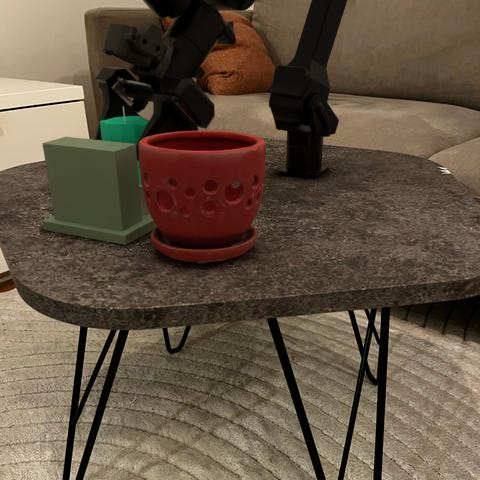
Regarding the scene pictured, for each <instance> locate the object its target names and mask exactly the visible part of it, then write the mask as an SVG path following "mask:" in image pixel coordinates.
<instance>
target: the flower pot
mask: <svg viewBox="0 0 480 480" xmlns="http://www.w3.org/2000/svg"><path fill="white" fill-rule="evenodd" d="M266 161H267V143H266V141H265V140H264V139H263V138H261V137H260V136H256V135H253V134H249V133H244V132H236V131H225V130H224V131H223V130H198V131H181V132H170V133H163V134H156V135H152V136H148V137H145V138H143V139H142V140H140V141H139V167H140V175H141V184H142V188H143V192H144V197H145V202H146V205H147V208H148V210H149V213H150V215H151V217H152V219H153V221H154V223H155V224H156V226H157V227H156V228H155V229H154V230H152V231H151V233H150V239H151V243H152V245H153V246H154V248H156V249H157V251H159V252H160V253H162V254H163V255H164V256H167V257H169V258H171V259H175V260H177V261H182V262H188V263H189V262H190V263H196V264H197V265H204V264H206V263H214V262H222V261H226V260H231V259H235V258H237V257H240V256H242V255H244V254H245V253H246V252H248V251H249V250H250V249H251V248H252V247H253V246H254V245H255V243H256V240H257V238H258V232H257V230H256V228H255V227H254V226H252V224H253V223H254V220H255V218H256V216H257V215H258V211H259V209H260V206H261V202H262V198H263V192H264V186H265V178H266V165H267V163H266ZM234 182H239V184H238V186H236V187H235V186H234V184H233V183H234Z"/></svg>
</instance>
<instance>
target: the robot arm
mask: <svg viewBox="0 0 480 480" xmlns="http://www.w3.org/2000/svg"><path fill="white" fill-rule="evenodd" d="M142 1H143V2H144V4H145V5H146V6H147V7H148V8H149V10H150V11H151V12H152V13H153V14H154V16H155V17H156V18H158V19H165V18H168V19H170V20H173V21H172V22H171V23H170V25H169V26H168V28H167V29H166V31H165V32H164V34H163V30H162V27H160V26H159V25H157V24H154V23H153V22H142V23H141V24H140V25H139V26H138V27H137V26H135V25H128V24H124V23H109V24H108V28H107V32H106V36H105V39H104V43H103V47H102V49H101V51H102V53H104V54H105V55H107V56H113V57H115V58H118V59H119V60H122V61H124V62H126V63H128V64H130V65H129V66H128V68H124V67H118V66H103V67H102V68H101V70H100V71H99V73H98V74H97V76H96V78H95V81H96V83H97V84H98V86H97V87H98V90H99V91H100V92H101V95H102V99H103V105H102V111H101V115H100V119H99V122H98V125H97V128H96V134H95V136H94V140H102V136H101V127H100V121H102V120H107V119H111V118H115V117H124V115H123V106H124V113H125V116H141V115H140V114H139V113H140V112H142V111H144V110H145V109H146V107H147V106H148V104H149V103H152V106H153V107H152V109H153V110H152V111H153V112H152V115H151V117H150V119H149V120H150V121H149V122H148V124H147V126H146V128H145V130H144V132H143V134H142V135H141V137H140V139H139V141H140V140H142V139H143V138H145V137H148V136H152V135H156V134H163V133H170V132H181V131H199V128H201V129H204V130H206V129H208V127H209V125H210V124H211V123H212V121H213V120H214V119H215V115H216V113H215V111H216V110H215V109H216V108H215V103H214V102H213V101H212V100H211V99H210V97H209V96H208V95H207V94H206V93H205V92H204V90H203V89H202V88H201V87H200V86H199V85H198V84H197V81H196V82H195V81H194V80H193V78H197V79H199V80H202V79H203V77H204V76H205V74H206V71H205V70H204V68H203V67H202V66H203V65H204V63H205V61H206V60H207V59H208V58H209V55H210V54H211V52H212V51H213V49H214V48H215V46H216V45H226V46H228V45H229V46H234V45H236V43H237V38H236V37H237V36H236V33H235V27H234V26H235V24H234V21H232V20H226V19H225V18H224V17H223V16H222V14H221V13H220V12H221V11H222V12H244V11H247V10H249V9H250V8H251V7H252V6H253V5H254V4H255V3H256V1H257V0H142ZM347 4H348V0H311V1H310V5H309V8H308V12H307V15H306V17H305V21H304V24H303V28H302V31H301V34H300V37H299V40H298V44H297V46H296V47H297V48H296V50H295V54H294V56H293V57H292V59H291V60H290V62H289V63H287V64H286V65H284V64H278V65H277V66H276V67H275V69H274V74H273V79H272V82H271V85H270V87H269V88H268V90H267V93H268V94H270V95H269V99H268V107H269V109H270V112H271V114H272V118H273V122H274V125H275V130H277V131H283V132H286V149H285V150H286V151H285V165H284V166H282V167H280V168H279V169H277V174H281V175H289V176H298V177H305V178H315V179H316V178H318V177H320V176H321V175H322V174H324V173H325V172H326V171H327V170H329V169H330V168H329V167H330V166H329V165H327V164H323V151H324V138H329V137H331V136H332V135H336V132H337V130H338V126H339V124H340V123H339V122H340V119H339V118H338V116H337V115H336V113H335V111H334V110H333V108H332V107H331V105H330V103H328V101H329V96H330V91H331V85H330V79H329V75H328V70H327V68H328V63H329V61H330V56H331V54H332V51H333V48H334V45H335V41H336V38H337V35H338V31H339V30H340V29H339V28H340V25H341V21H342V18H343V15H344V13H345V9H346V6H347ZM162 36H163V37H162ZM127 69H128V70H129V71H130V72H131V73H130V72H129V71H128V70H127ZM132 74H133V75H134V76H136V77H137V78H138V79H136V78H135V77H134V76H133V75H132ZM197 79H196V80H197ZM139 141H138V143H137V145H136V153H137V161H139Z"/></svg>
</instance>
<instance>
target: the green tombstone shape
mask: <svg viewBox="0 0 480 480" xmlns="http://www.w3.org/2000/svg"><path fill="white" fill-rule="evenodd" d="M42 149H43V150H42V151H43V155H44V162H45V168H46V176H47V180H48V186H49V194H50V199H51V205H52V212H53V216H51V217H48V218H46V219H44V220H42V226H43V231H48V232H53V233H59V234H63V235H64V234H65V235H70V236H74V237H80V238H84V239H85V238H86V239H91V240H97V241H101V242H107V243H112V244H119V245H124V246H127V245H129V244H131V243H133V242H134V241H137V240H138V239H140V238H142V237H143V236H145V235H147V234H148V233H150V232H152V231H153V230H154V229H155V228H156V227H157V226H156V224H155V223H154V221H153V219H152V217H151V215H150V213H149V210H148V208H147V205H146V202H145V197H144V192H143V188H142V185H139V176H138V165H137V153H136V144H131V143H121V142H112V141H102V140H95V139H91V138H83V137H72V136H62V137H59V138H56V139H53V140H48V141H45V142H42Z"/></svg>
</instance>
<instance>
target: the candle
mask: <svg viewBox="0 0 480 480" xmlns="http://www.w3.org/2000/svg"><path fill="white" fill-rule="evenodd" d="M123 115H124V117H115V118H111V119H107V120H102V121H100V120H99V122H100V127H101V136H102V141H112V142H121V143H131V144H136V145H137V143H138V141H139V139H140V137H141V135H142V134H143V132H144V130H145V128H146V126H147V124H148V122H149V121H150V119H147V118H145V117H143V116H141V115H140V116H125V113H124V106H123ZM137 165H138V176H139V185H142V184H141V175H140V167H139V161H137Z"/></svg>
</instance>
